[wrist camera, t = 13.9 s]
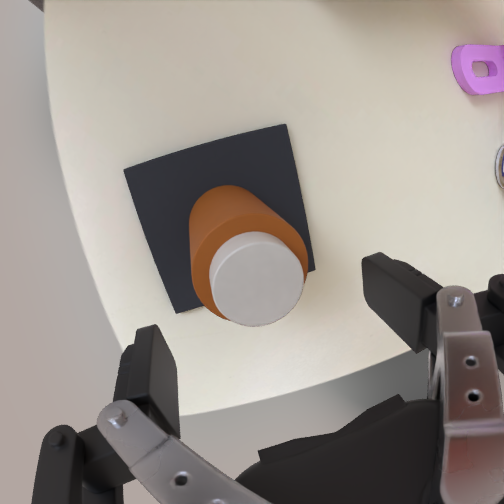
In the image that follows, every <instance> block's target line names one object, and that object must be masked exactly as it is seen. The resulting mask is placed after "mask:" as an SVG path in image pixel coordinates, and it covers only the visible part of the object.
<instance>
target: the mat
mask: <svg viewBox="0 0 504 504" xmlns="http://www.w3.org/2000/svg"><path fill="white" fill-rule="evenodd" d="M124 174H125V177H126V180H127V183H128V187H129V190H130V193H131V196H132V199H133V202H134V205H135V208H136V211H137V214H138V217H139V220H140V222H141V225H142V228H143V231H144V234H145V236H146V239H147V242H148V245H149V247H150V250H151V253H152V255H153V258H154V261H155V263H156V266H157V268H158V271H159V274H160V276H161V279H162V281H163V284H164V286H165V289H166V291H167V293H168V296H169V298H170V301H171V303H172V306H173V308H174V310H175V313H176V314H177V313H181V312H184V311H188V310H191V309H194V308H198V307H201V306H204V304H203V303H202V302H201V301H200V299H199V298H198V296H197V294H196V292H195V289H194V286H193V282H192V275H191V257H190V236H189V218H190V214H191V210H192V208H193V206H194V204H195V203H196V201H197V200H198V199H199V198H200V197H201V196H202V195H203V194H204V193H206V192H207V191H209V190H211V189H213V188H215V187H218V186H224V185H233V186H238V187H242V188H244V189H246V190H248V191H249V192H251V193H252V194H253V195H255V196H256V197H257V198H258V199H259V200H261V201H262V202H263V203H264V204H266V205H267V206H268V207H269V208H270V209H272V210H273V211H274V212H275V213H276V214H278V215H279V216H280V217H281V218H282V219H284V220H285V221H286V222H287V223H288V224H289V225H291V226H292V227H293V228H294V229H295V230H296V231H297V233H298V234H299V235H300V237H301V239H302V240H303V242H304V245H305V247H306V251H307V255H308V271H307V273H308V272H311V271H314V270H315V264H314V258H313V252H312V247H311V241H310V236H309V230H308V225H307V220H306V214H305V209H304V204H303V199H302V194H301V189H300V185H299V180H298V175H297V170H296V166H295V161H294V157H293V152H292V148H291V143H290V139H289V135H288V130H287V126H286V124H281V125H277V126H272V127H268V128H263V129H259V130H255V131H250V132H246V133H242V134H238V135H234V136H230V137H226V138H223V139H219V140H215V141H212V142H208V143H204V144H201V145H197V146H194V147H191V148H187V149H184V150H181V151H177V152H174V153H171V154H168V155H165V156H162V157H159V158H155V159H152V160H149V161H147V162H144V163H141V164H138V165H135V166H132V167H129V168H127V169H124Z"/></svg>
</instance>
